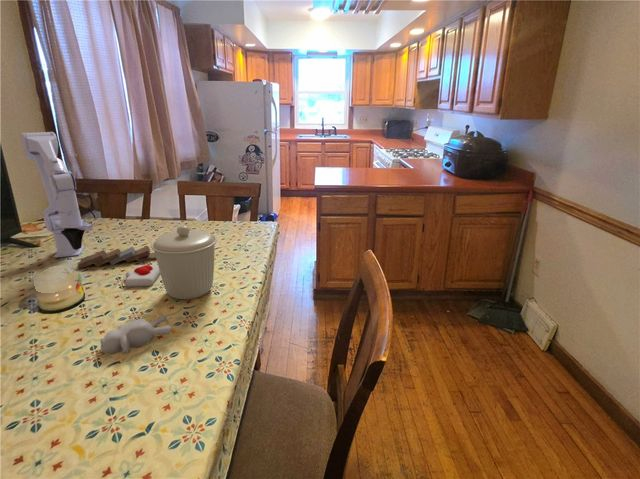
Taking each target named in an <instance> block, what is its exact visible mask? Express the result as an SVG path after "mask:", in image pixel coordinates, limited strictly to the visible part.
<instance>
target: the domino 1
mask: <svg viewBox="0 0 640 479" xmlns="http://www.w3.org/2000/svg"><path fill="white" fill-rule="evenodd" d="M106 253H107V252H106V250H105V249H103V250H100V251H98V252H95V253H93V254H91V255H88V256H86V257H83V258H81V259H80V261H79V262H78V264H77V266H78V268H79V269H82V268H86V267H88V266H90V265H92V264H94V263H95V262H98V261H100V260H103V259H104V257H105V255H106Z"/></svg>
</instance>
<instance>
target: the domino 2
mask: <svg viewBox="0 0 640 479" xmlns="http://www.w3.org/2000/svg"><path fill="white" fill-rule="evenodd" d="M121 252H122V251H121V249H120V248H116V249H114V250H111V251H109V252H106V255H105V257H104V259H103V260H100V261H98V262H95V263H93V264H94V265H95V266H96V268H97V267H100V266H102V265H104V264H105V265H106V263H110V262H109V261H112V260H114V259H116V258H119V257H120V254H121Z"/></svg>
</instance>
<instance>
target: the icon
mask: <svg viewBox="0 0 640 479" xmlns="http://www.w3.org/2000/svg"><path fill="white" fill-rule="evenodd" d="M160 275H161V274H160V270H159V266H158V264H139V265H137V267H135V268H134V269H132V270H130V271H127V272H126V273H125V278H126V279H125V281H124V283H125V285H126V287H130V288H132V287H151V286H153V284H154V283H155V281H156V280H157V279H158V277H159V276H160Z"/></svg>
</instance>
